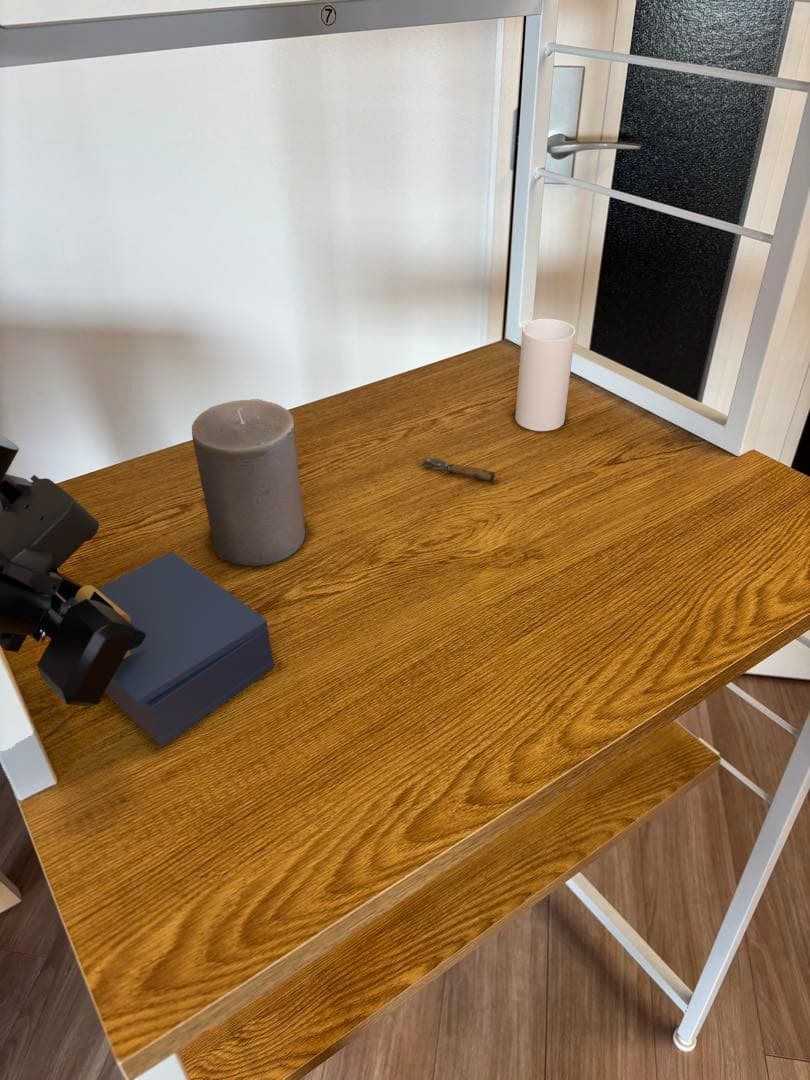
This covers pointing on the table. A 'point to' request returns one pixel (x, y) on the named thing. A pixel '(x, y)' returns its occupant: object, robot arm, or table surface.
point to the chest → (199, 690)
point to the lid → (173, 624)
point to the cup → (544, 374)
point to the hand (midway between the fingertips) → (124, 623)
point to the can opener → (461, 469)
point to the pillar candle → (250, 481)
